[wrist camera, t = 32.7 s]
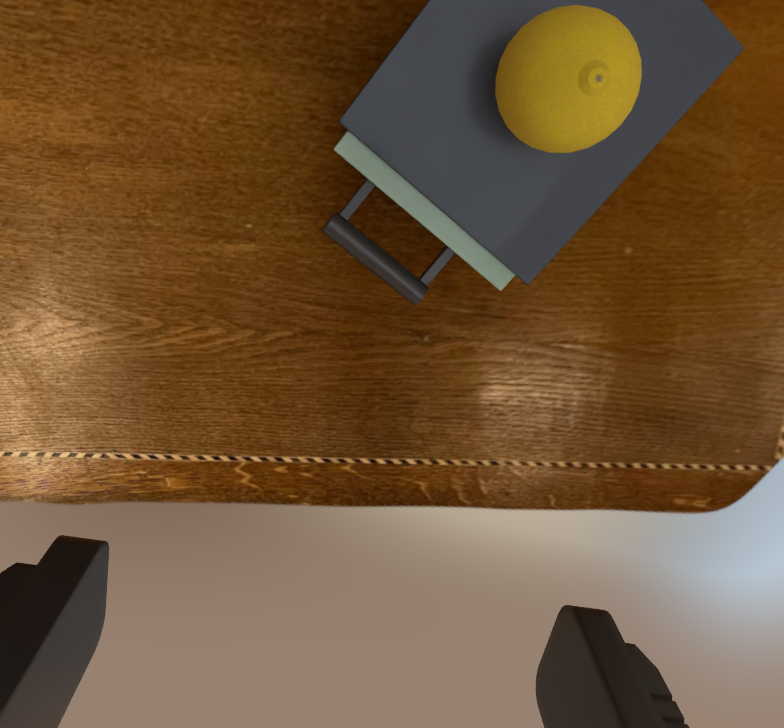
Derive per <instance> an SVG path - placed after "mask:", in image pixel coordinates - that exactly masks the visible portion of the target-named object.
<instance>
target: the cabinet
mask: <svg viewBox="0 0 784 728" xmlns="http://www.w3.org/2000/svg"><path fill="white" fill-rule="evenodd" d="M572 5H582V6H588V7H594V8H598V9H601V10H603V11H605V12H607V13H609V14H611V15H613V16H615V17H616V18H617V19H618V20H619V21H620V22H621V23H622V24H623V25H624V26H625V27H626V28H627V29H628V30H629V31H630V33H631V35H632V36H633V38H634V40H635V42H636V43H637V46H638V50H639V54H640V57H641V69H642V78H641V83H640V88H639V93H638V96H637V99H636V101H635V103H634V105H633V108H632V110H631V112H630V113H629V114H628V116H627V117H626V118H625V120H624V121H623V123H622V124H621V125H620V126H619V127H618V128H617V129H616V130H615V131H614V132H612V133H611V134H610V135H609V136H608V137H607V138H605V139H604V140H602V141H600V142H598V143H596V144H595V145H593V146H591V147H589V148H587V149H583V150H579V151H575V152H571V153H549V152H545V151H542V150H538V149H535V148H532V147H530V146H529V145H527V144H526V143H524V142H522V141H521V140H519V139H518V138H517V137H516V136H515V135H514V134H513V133H512V132H511V130H510V129H509V128H508V127H507V126H506V124H505V122H504V120H503V118H502V116H501V114H500V112H499V109H498V104H497V100H496V96H495V90H496V75H497V70H498V66H499V62H500V59H501V57H502V55H503V53H504V51H505V49H506V47H507V45H508V43H509V42H510V41H511V40H512V38H513V37H514V36H515V35H516V33H517V32H518V31H519V30H520V29H521V28H522V27H523V26H524V25H525V24H527V23H528V22H529V21H531V20H532V19H533V18H535V17H536V16H538V15H539V14H542V13H544V12H547V11H549V10H552V9H554V8H557V7H563V6H572ZM743 49H744V47H743V46H742V45H741V44H740V43H739V42H738V40H737V39H736V38H735V37H734V36H733V35H732V34H731V32H730V31H729V30H728V29H727V28H726V27H725V26H724V24H723V23H722V22H721V21H720V20H719V19H718V18H717V16H716V15H715V14H714V13H713V12H712V11H711V10H710V8H709V7H708V6H707V5H706V4H705V3H704V1H703V0H429V1H428V2H427V4H426V5H425V6H424V8H423V9H422V10H421V12H420V13H419V14H418V16H417V17H416V18H415V20H414V21H413V22H412V24H411V25H410V26H409V28H408V29H407V30H406V32H405V33H404V34H403V36H402V37H401V38H400V40H399V41H398V42H397V44H396V45H395V46H394V48H393V49H392V50H391V52H390V53H389V54H388V56H387V57H386V58H385V60H384V61H383V62H382V64H381V65H380V66H379V68H378V69H377V70H376V72H375V73H374V74H373V76H372V77H371V78H370V80H369V81H368V82H367V84H366V85H365V86H364V88H363V89H362V90H361V92H360V93H359V94H358V96H357V97H356V98H355V100H354V101H353V102H352V104H351V105H350V106H349V108H348V109H347V110H346V112H345V113H344V114H343V116H342V117H341V118H340V120H339V123H341V124H342V125H343V126H344V127H345V128H346V129H347V130H349V131H350V132H351V133H352V134H353V135H354V136H356V137H357V138H358V139H359V140H360V141H361V142H363V143H364V144H365V145H366V146H367V147H368V148H370V149H371V150H372V151H373V152H374V153H375V154H376V155H378V156H379V157H380V158H381V159H382V160H383V161H385V162H386V163H387V164H388V165H389V166H390V167H392V168H393V169H394V170H395V171H396V172H397V173H398V174H400V175H401V176H402V177H403V178H404V179H405V180H407V181H408V182H409V183H410V184H411V185H412V186H414V187H415V188H416V189H417V190H418V191H419V192H420V193H422V194H423V195H424V196H425V197H426V198H427V199H429V200H430V201H431V202H432V203H433V204H434V205H436V206H437V207H438V208H439V209H440V210H441V211H443V212H444V213H445V214H446V215H447V216H448V217H449V218H451V219H452V220H453V221H454V222H455V223H456V224H458V225H459V226H460V227H461V228H462V229H463V230H465V231H466V232H467V233H468V234H469V235H470V236H471V237H473V238H474V239H475V240H476V241H477V242H478V243H480V244H481V245H482V246H483V247H484V248H485V249H487V250H488V251H489V252H490V253H491V254H492V255H493V256H495V257H496V258H497V259H498V260H499V261H500V262H502V263H503V264H504V265H505V266H506V267H507V268H509V269H510V270H511V271H512V272H513V273H514V274H515V275H517V276H518V277H519V278H520V279H521V280H522V281H524V282H525V283H526V284H527V285H529V284H530V283H531V282H532V280H533V279H534V278H535V277H536V276H537V275H538V274H539V273H540V272H541V271H542V269H543V268H544V267H545V266H546V265H547V264H548V263H549V262H550V261H551V260H552V259H553V257H554V256H555V255H556V254H557V253H558V252H559V251H560V250H561V249H562V248H563V246H564V245H565V244H566V243H567V242H568V241H569V240H570V239H571V238H572V237H573V236H574V234H575V233H576V232H577V231H578V230H579V229H580V228H581V227H582V226H583V225H584V223H585V222H586V221H587V220H588V219H589V218H590V217H591V216H592V215H593V214H594V213H595V211H596V210H597V209H598V208H599V207H600V206H601V205H602V204H603V203H604V202H605V201H606V199H607V198H608V197H609V196H610V195H611V194H612V193H613V192H614V191H615V190H616V188H617V187H618V186H619V185H620V184H621V183H622V182H623V181H624V180H625V179H626V178H627V176H628V175H629V174H630V173H631V172H632V171H633V170H634V169H635V168H636V167H637V165H638V164H639V163H640V162H641V161H642V160H643V159H644V158H645V157H646V156H647V155H648V153H649V152H650V151H651V150H652V149H653V148H654V147H655V146H656V145H657V144H658V142H659V141H660V140H661V139H662V138H663V137H664V136H665V135H666V134H667V133H668V132H669V130H670V129H671V128H672V127H673V126H674V125H675V124H676V123H677V122H678V121H679V120H680V118H681V117H682V116H683V115H684V114H685V113H686V112H687V111H688V110H689V109H690V107H691V106H692V105H693V104H694V103H695V102H696V101H697V100H698V99H699V98H700V97H701V95H702V94H703V93H704V92H705V91H706V90H707V89H708V88H709V87H710V86H711V84H712V83H713V82H714V81H715V80H716V79H717V78H718V77H719V76H720V75H721V74H722V72H723V71H724V70H725V69H726V68H727V67H728V66H729V65H730V64H731V63H732V61H733V60H734V59H735V58H736V57H737V56H738V55H739V54H740V53H741V52H742V51H743Z"/></svg>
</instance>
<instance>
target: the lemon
mask: <svg viewBox="0 0 784 728" xmlns="http://www.w3.org/2000/svg"><path fill="white" fill-rule="evenodd" d="M641 78H642V69H641V57H640V54H639V50H638V46H637V43H636V42H635V40H634V38H633V36H632V35H631V33H630V31H629V30H628V29H627V28H626V27H625V26H624V25H623V24H622V23H621V22H620V21H619V20H618V19H617V18H616V17H615V16H613V15H611V14H609V13H607V12H605V11H603V10H601V9H598V8H594V7H588V6H582V5H572V6H563V7H557V8H554V9H552V10H549V11H547V12H544V13H542V14H539V15H538V16H536V17H535V18H533V19H532V20H531V21H529V22H528V23H527V24H525V25H524V26H523V27H522V28H521V29H520V30H519V31H518V32H517V33H516V35H515V36H514V37H513V38H512V40H511V41H510V42H509V43H508V45H507V47H506V49H505V51H504V53H503V55H502V57H501V59H500V62H499V66H498V70H497V75H496V90H495V96H496V100H497V104H498V109H499V112H500V114H501V116H502V118H503V120H504V122H505V124H506V126H507V127H508V128H509V129H510V130H511V132H512V133H513V134H514V135H515V136H516V137H517V138H518V139H519V140H521V141H522V142H524V143H526V144H527V145H529V146H530V147H532V148H535V149H538V150H542V151H545V152H549V153H571V152H575V151H579V150H583V149H587V148H589V147H591V146H593V145H595V144H596V143H598V142H600V141H602V140H604V139H605V138H607V137H608V136H609V135H610V134H611V133H612V132H614V131H615V130H616V129H617V128H618V127H619V126H620V125H621V124H622V123H623V121H624V120H625V118H626V117H627V116H628V114H629V113H630V112H631V110H632V108H633V105H634V103H635V101H636V99H637V96H638V93H639V88H640V83H641Z"/></svg>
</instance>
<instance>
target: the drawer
mask: <svg viewBox="0 0 784 728" xmlns="http://www.w3.org/2000/svg"><path fill="white" fill-rule="evenodd" d="M334 151H336V152H337V153H338V154H339V155H340V156H342V157H343V158H344V159H345V160H346V161H347V162H349V163H350V164H351V165H352V166H353V167H355V168H356V169H357V170H358V171H359V172H360V173H362V174H363V175H364V176H365V177H366V178H367V179H366V180H365V181H364V182H363V184H362V185H361V186H360V187H359V189H358V190H357V191H356V193H355V194H354V195H353V196H352V198H351V199H350V200H349V201H348V203H347V204H346V205H345V207H344V208H343V209H342V210H341V212H340V214H339V213H337V212H335V213H334V214H333V215H332V217H331V218H330V219H329V220H328V222H327V223H326V224H325V226H324V227H323V229H322V232H323V233H324V234H325V235H327V236H328V237H329V238H330V239H332V240H333V241H334V242H335V243H337V244H338V245H339V246H341V247H342V248H343V249H344V250H346V251H347V252H348V253H349V254H351V255H352V256H353V257H354V258H356V259H357V260H358V261H359V262H361V263H362V264H363V265H364V266H366V267H367V268H368V269H369V270H371V271H372V272H373V273H374V274H376V275H377V276H378V277H379V278H381V279H382V280H383V281H384V282H386V283H387V284H388V285H389V286H391V287H392V288H393V289H394V290H396V291H397V292H398V293H399V294H401V295H402V296H403V297H404V298H406V299H407V300H408V301H409V302H411V303H412V304H413V305H416V304H418V303H419V302H420V301H421V300H422V299H423V298H424V296H425V295H426V293H427V292H428V289H429V287H428V286H427V285H428V284H429V283H430V282H431V281H432V280H433V279H434V277H435V276H436V275H437V274H438V273H439V272H440V270H441V269H442V268H443V267H444V266H445V265H446V263H447V262H448V261H449V260H450V259H451V258H452V256H453V255H454V254H455V253H456V254H457V255H459V256H460V257H461V258H462V259H463V260H464V261H466V262H467V263H468V264H469V265H470V266H472V267H473V268H474V269H475V270H476V271H477V272H479V273H480V274H481V275H482V276H483V277H485V278H486V279H487V280H488V281H489V282H490V283H492V284H493V285H494V286H495V287H496V288H498V289H499V290H500V291H501V290H502V289H503V288H504V287H505V286H506V285H507V284H508V283H509V281H510V280H511V279H512V278H513V277H514V276H515V274H514V273H513V272H512V271H511V270H510V269H509V268H507V267H506V266H505V265H504V264H503V263H502V262H500V261H499V260H498V259H497V258H496V257H495V256H493V255H492V254H491V253H490V252H489V251H488V250H487V249H485V248H484V247H483V246H482V245H481V244H480V243H478V242H477V241H476V240H475V239H474V238H473V237H471V236H470V235H469V234H468V233H467V232H466V231H465V230H463V229H462V228H461V227H460V226H459V225H458V224H456V223H455V222H454V221H453V220H452V219H451V218H449V217H448V216H447V215H446V214H445V213H444V212H443V211H441V210H440V209H439V208H438V207H437V206H436V205H434V204H433V203H432V202H431V201H430V200H429V199H427V198H426V197H425V196H424V195H423V194H422V193H420V192H419V191H418V190H417V189H416V188H415V187H414V186H412V185H411V184H410V183H409V182H408V181H407V180H405V179H404V178H403V177H402V176H401V175H400V174H398V173H397V172H396V171H395V170H394V169H393V168H392V167H390V166H389V165H388V164H387V163H386V162H385V161H383V160H382V159H381V158H380V157H379V156H378V155H376V154H375V153H374V152H373V151H372V150H371V149H370V148H368V147H367V146H366V145H365V144H364V143H363V142H361V141H360V140H359V139H358V138H357V137H356V136H354V135H353V134H352V133H351V132H350V131H349V130H347V131H346V133H345V134H344V135H343V137H342V138H341V139H340V141H339V142H338V143H337V145H336V146H335V148H334ZM375 186H377V187H378V188H379V189H381V190H382V191H383V192H384V193H385V194H386V195H388V196H389V197H390V198H391V199H392V200H394V201H395V202H396V203H397V204H398V205H399V206H401V207H402V208H403V209H404V210H405V211H407V212H408V213H409V214H410V215H411V216H412V217H414V218H415V219H416V220H417V221H418V222H420V223H421V224H422V225H423V226H424V227H425V228H427V229H428V230H429V231H430V232H431V233H433V234H434V235H435V236H436V237H437V238H438V239H440V240H441V241H442V242H443V243H444V244H446V246H445V248H444V249H443V250H442V251H441V252H440V253H439V255H438V256H437V257H436V258H435V259H434V261H433V262H432V263H431V264H430V265H429V266H428V268H427V269H426V270H425V271H424V272H423V273H422V275H421V276H420V277H419V279H418V278H417V277H416V276H415V275H414V274H412V273H411V272H410V271H409V270H407V269H406V268H405V267H404V266H402V265H401V264H400V263H399V262H398V261H396V260H395V259H394V258H393V257H391V256H390V255H389V254H388V253H387V252H385V251H384V250H383V249H382V248H380V247H379V246H378V245H377V244H375V243H374V242H373V241H372V240H371V239H369V238H368V237H367V236H366V235H364V234H363V233H362V232H361V231H360V230H358V229H357V228H356V227H355V226H353V225H352V224H351V223H350V222H348V220H349V219H350V217H351V216H352V215H353V213H354V212H355V211H356V210H357V208H358V207H359V206H360V205H361V203H362V202H363V201H364V200H365V198H366V197H367V196H368V195H369V193H370V192H371V191H372V189H373V188H374V187H375Z"/></svg>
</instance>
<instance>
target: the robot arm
mask: <svg viewBox="0 0 784 728" xmlns="http://www.w3.org/2000/svg"><path fill="white" fill-rule="evenodd" d="M108 560H109V545H108V542H106V541H100V540H93V539H85V538H78V537H70V536H64V535H61V536H59V537H57V538H56V540H55V541H54V542H53V543H52V545H51V546H50V548H49V549H48V550H47V552H46V553H45V555H44V556H43V558H42V559H41V560H40V562H39V563H38V564H37V565H31V564H24V563H15V564H14V565H12V566H11V567H9V568H7V569H6V570H5V571H3V572H1V573H0V728H58V725H59V723H60V721H61V719H62V717H63V715H64V713H65V711H66V709H67V707H68V705H69V703H70V701H71V699H72V697H73V695H74V693H75V691H76V689H77V687H78V685H79V683H80V681H81V679H82V676H83V675H84V672H85V670H86V668H87V666H88V664H89V662H90V660H91V658H92V656H93V654H94V652H95V650H96V647H97V644H98V641H99V639H100V635H101V632H102V628H103V624H104V619H105V610H106V593H107V577H108ZM536 698H537V704H538V708H539V711H540V714H541V717H542V721H543V724H544V727H545V728H689V726H688V725H687V724H684V717H683V715H682V713H681V711H680V710H679V708H678V706H677V704H676V702H675V701H672V695H671V693H670V691H669V689H668V687H667V685H666V684H665V682H664V680H663V678H662V676H661V674H660V672H659V670H658V669H657V668H656V666H655V665H654V664H653V663H652V662H651V661H650V660H649V659H648V658H647V657H646V656H645V655H644V654H643V653H642V652H641V651H640V649H639V648H638V647H637V646H636V645H635V644H629V643H625V642H624V640H623V638H622V636H621V634H620V632H619V630H618V628H617V626H616V624H615V622H614V620H613V619H612V616H611V615H610V614H609V613H608V612H607V611H605V610H600V609H592V608H584V607H577V606H570V605H565V606H563V607H562V608H561V610H560V612H559V614H558V616H557V619H556V621H555V624H554V627H553V629H552V632H551V635H550V637H549V640H548V643H547V645H546V648H545V651H544V654H543V656H542V659H541V661H540V664H539V667H538V671H537V676H536Z"/></svg>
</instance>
